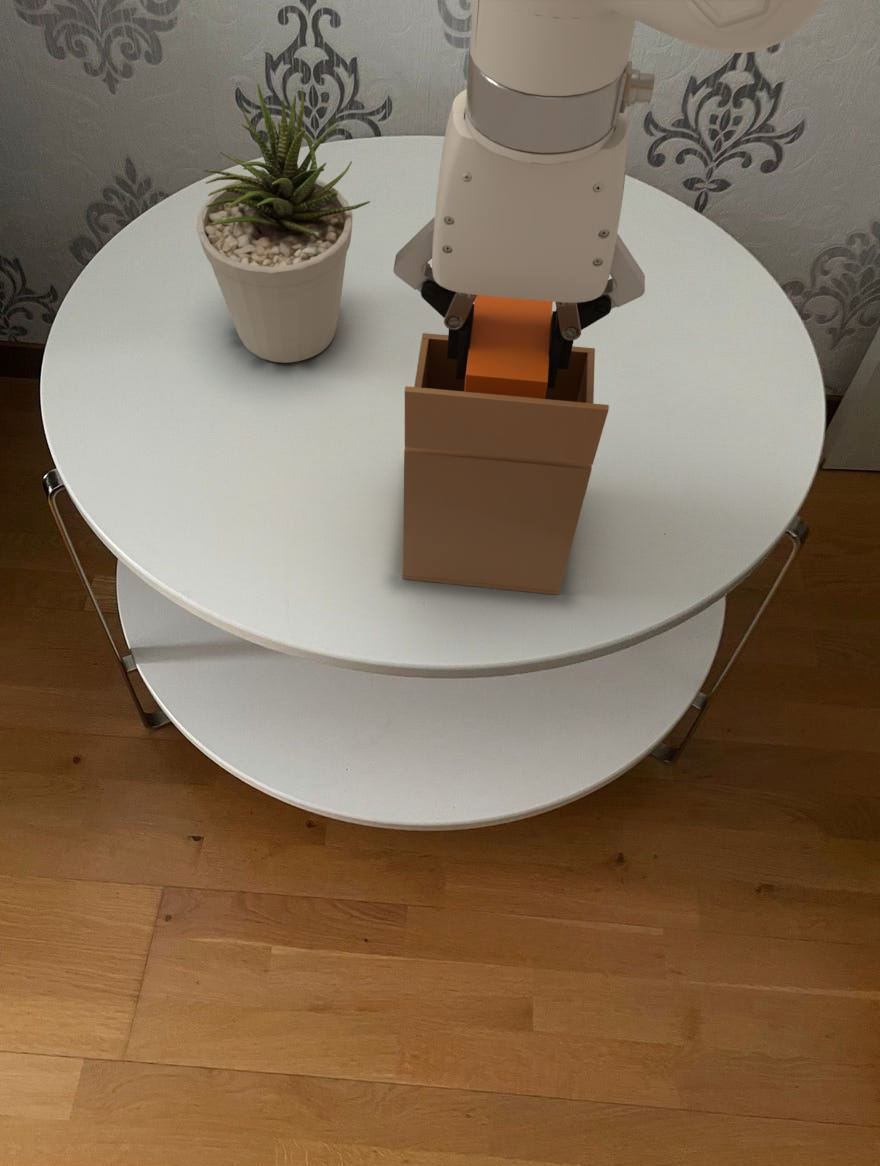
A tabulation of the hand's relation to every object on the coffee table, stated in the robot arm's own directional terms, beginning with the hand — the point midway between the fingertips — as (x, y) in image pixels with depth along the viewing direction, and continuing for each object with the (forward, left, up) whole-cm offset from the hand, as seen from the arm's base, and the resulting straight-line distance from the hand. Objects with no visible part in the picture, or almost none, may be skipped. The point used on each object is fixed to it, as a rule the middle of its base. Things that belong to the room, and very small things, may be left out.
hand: (506, 366), depth 64 cm
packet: (0, 0, 0) cm, 0 cm away
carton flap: (0, +6, +1) cm, 6 cm away
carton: (0, +1, -17) cm, 17 cm away
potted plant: (+19, -20, -17) cm, 32 cm away
